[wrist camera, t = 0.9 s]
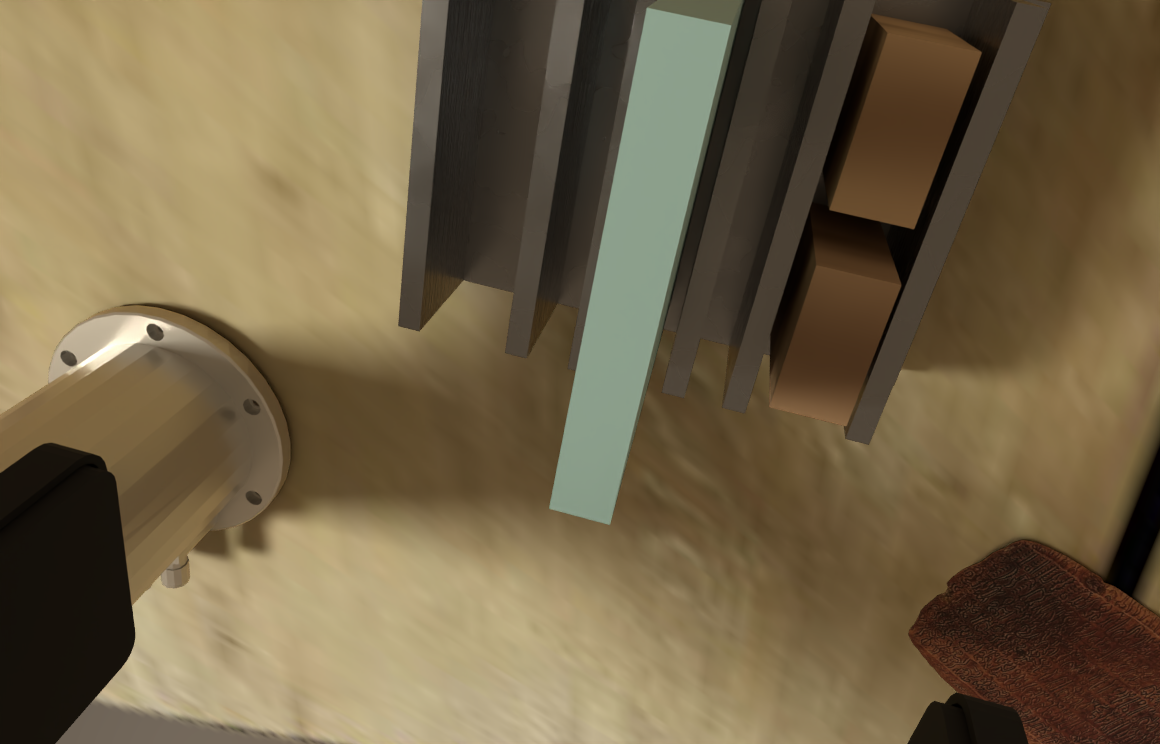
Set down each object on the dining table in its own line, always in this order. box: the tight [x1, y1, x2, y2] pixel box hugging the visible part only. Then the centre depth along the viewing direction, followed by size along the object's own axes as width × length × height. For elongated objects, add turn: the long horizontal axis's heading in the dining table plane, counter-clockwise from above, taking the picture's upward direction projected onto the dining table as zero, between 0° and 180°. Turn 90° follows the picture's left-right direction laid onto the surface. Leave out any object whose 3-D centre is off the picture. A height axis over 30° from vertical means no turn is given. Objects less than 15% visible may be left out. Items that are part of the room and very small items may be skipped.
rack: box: [398, 0, 1051, 445], centre depth 29 cm, size 14×20×6 cm
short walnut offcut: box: [822, 14, 982, 229], centre depth 26 cm, size 5×2×6 cm, turn 170°
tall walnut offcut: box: [769, 202, 901, 426], centre depth 29 cm, size 5×2×6 cm, turn 170°
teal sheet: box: [549, 0, 745, 525], centre depth 25 cm, size 12×2×14 cm, turn 170°
